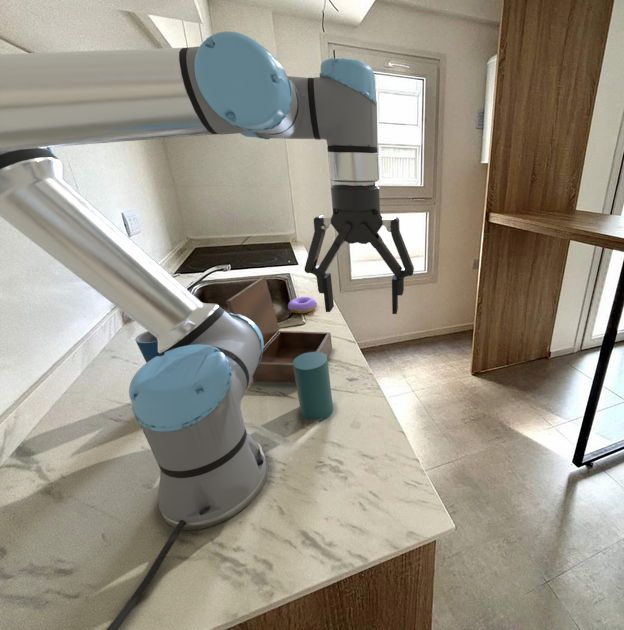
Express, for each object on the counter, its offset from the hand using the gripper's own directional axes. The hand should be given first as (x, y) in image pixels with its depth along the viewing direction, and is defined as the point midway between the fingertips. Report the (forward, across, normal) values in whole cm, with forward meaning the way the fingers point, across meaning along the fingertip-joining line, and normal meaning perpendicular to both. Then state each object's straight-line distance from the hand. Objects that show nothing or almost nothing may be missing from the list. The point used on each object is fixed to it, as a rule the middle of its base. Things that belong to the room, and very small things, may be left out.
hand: (362, 310), depth 61 cm
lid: (+10, +30, -17) cm, 35 cm away
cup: (+24, +45, -5) cm, 52 cm away
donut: (+24, +33, -53) cm, 67 cm away
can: (+24, +11, 0) cm, 27 cm away
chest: (+24, +22, -17) cm, 37 cm away
